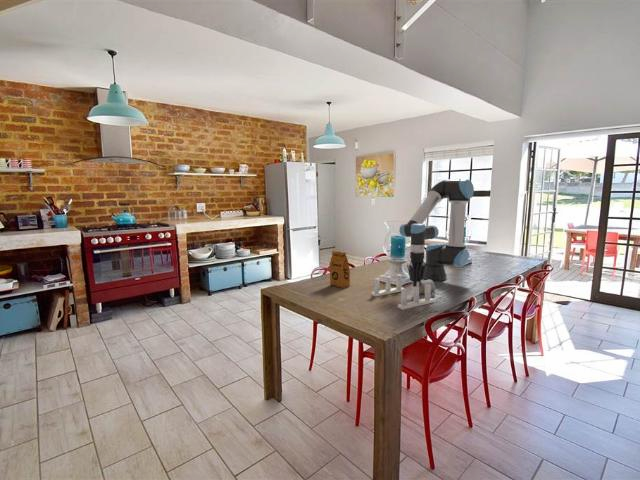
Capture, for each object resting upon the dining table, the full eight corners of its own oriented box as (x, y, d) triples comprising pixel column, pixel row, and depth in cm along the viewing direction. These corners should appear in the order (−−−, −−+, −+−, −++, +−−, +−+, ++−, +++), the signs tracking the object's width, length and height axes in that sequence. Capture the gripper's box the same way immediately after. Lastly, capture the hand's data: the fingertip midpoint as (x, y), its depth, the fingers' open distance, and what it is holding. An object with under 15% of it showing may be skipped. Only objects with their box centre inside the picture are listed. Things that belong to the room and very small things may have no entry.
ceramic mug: (415, 292, 190) (415, 279, 188) (426, 290, 192) (427, 277, 191) (426, 297, 180) (427, 284, 179) (438, 296, 183) (439, 282, 181)
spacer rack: (400, 289, 196) (400, 273, 195) (433, 302, 173) (434, 285, 171) (371, 294, 187) (371, 278, 186) (402, 309, 164) (402, 291, 162)
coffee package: (341, 289, 199) (340, 254, 195) (327, 285, 208) (327, 251, 205) (352, 286, 205) (352, 251, 202) (339, 282, 214) (338, 249, 211)
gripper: (413, 253, 175) (411, 296, 178) (431, 251, 180) (429, 292, 184) (403, 251, 181) (402, 292, 185) (421, 249, 187) (420, 289, 191)
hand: (416, 292), depth 184 cm, fingers closed
